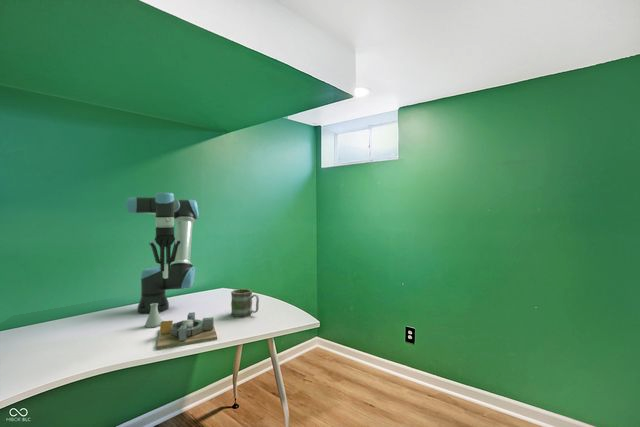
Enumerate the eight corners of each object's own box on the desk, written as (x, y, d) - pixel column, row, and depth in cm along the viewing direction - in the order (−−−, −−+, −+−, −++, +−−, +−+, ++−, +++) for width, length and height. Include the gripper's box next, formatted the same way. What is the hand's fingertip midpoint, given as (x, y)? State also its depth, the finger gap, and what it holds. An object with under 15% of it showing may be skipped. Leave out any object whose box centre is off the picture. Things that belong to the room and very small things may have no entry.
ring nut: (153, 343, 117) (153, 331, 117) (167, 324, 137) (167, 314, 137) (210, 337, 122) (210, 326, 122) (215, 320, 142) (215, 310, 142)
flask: (155, 328, 136) (155, 306, 136) (141, 327, 138) (141, 305, 138) (166, 323, 143) (166, 302, 143) (153, 322, 145) (153, 301, 145)
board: (160, 329, 134) (160, 317, 134) (211, 322, 144) (211, 310, 144) (157, 349, 115) (157, 334, 115) (217, 339, 124) (217, 325, 124)
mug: (226, 316, 153) (226, 292, 153) (239, 310, 163) (239, 288, 163) (252, 320, 147) (252, 295, 147) (264, 313, 157) (264, 290, 157)
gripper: (151, 227, 129) (152, 281, 130) (182, 226, 138) (183, 276, 139) (146, 226, 134) (147, 278, 135) (177, 225, 143) (177, 274, 144)
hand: (165, 277), depth 137 cm, fingers closed
